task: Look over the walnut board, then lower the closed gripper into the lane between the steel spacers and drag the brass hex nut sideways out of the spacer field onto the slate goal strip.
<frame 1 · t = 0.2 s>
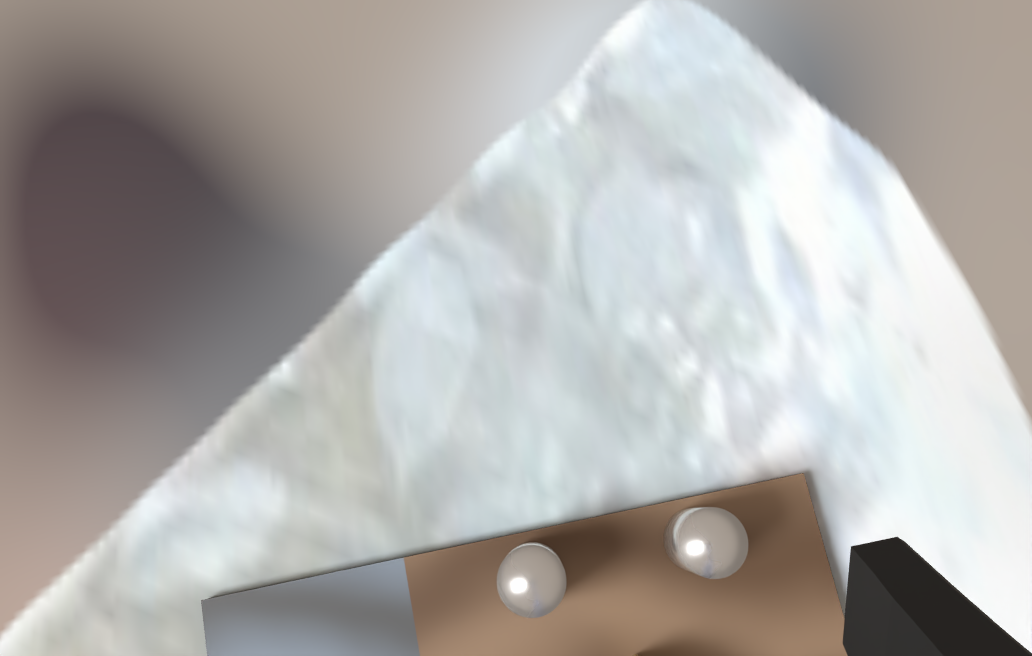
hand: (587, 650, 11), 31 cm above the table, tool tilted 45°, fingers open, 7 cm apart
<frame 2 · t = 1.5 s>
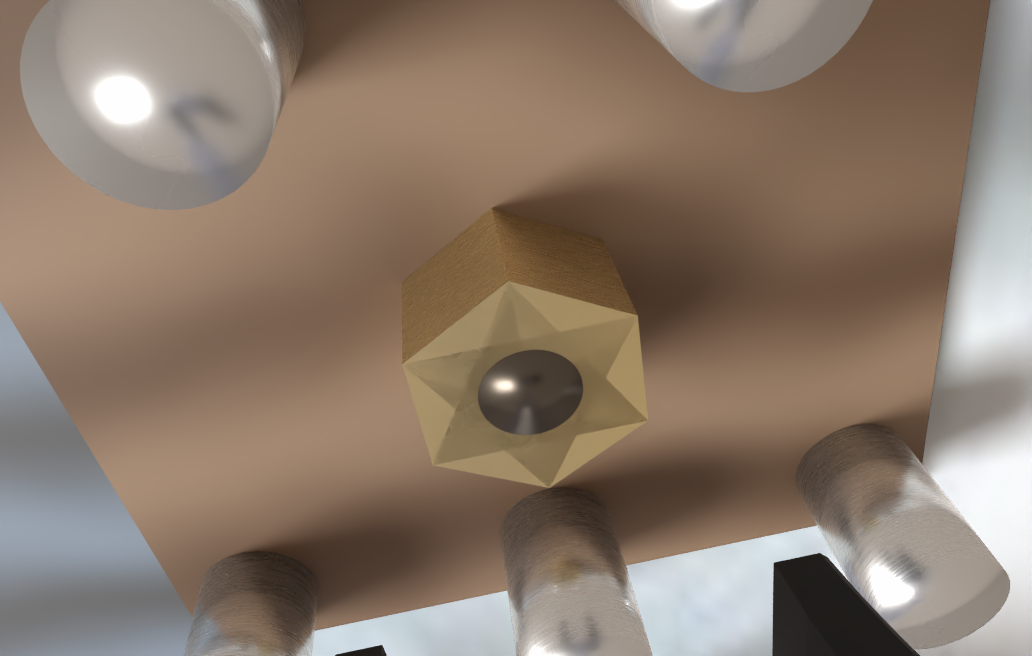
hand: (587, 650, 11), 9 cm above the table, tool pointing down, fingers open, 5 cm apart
brass nut: (512, 310, 18), point 1 cm above the table, touching spacer board
steel spacers: (508, 291, 19), resting on spacer board
spacer board: (291, 336, 19), on the table
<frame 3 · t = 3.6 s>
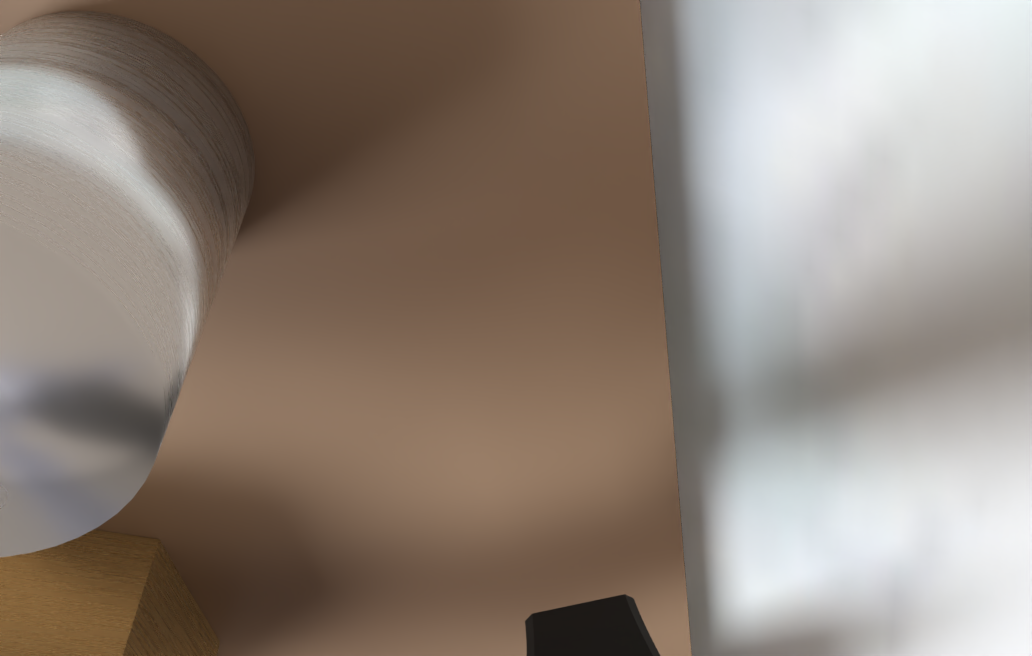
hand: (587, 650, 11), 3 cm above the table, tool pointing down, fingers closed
brass nut: (55, 622, 13), point 1 cm above the table, touching spacer board
steel spacers: (72, 581, 14), resting on spacer board
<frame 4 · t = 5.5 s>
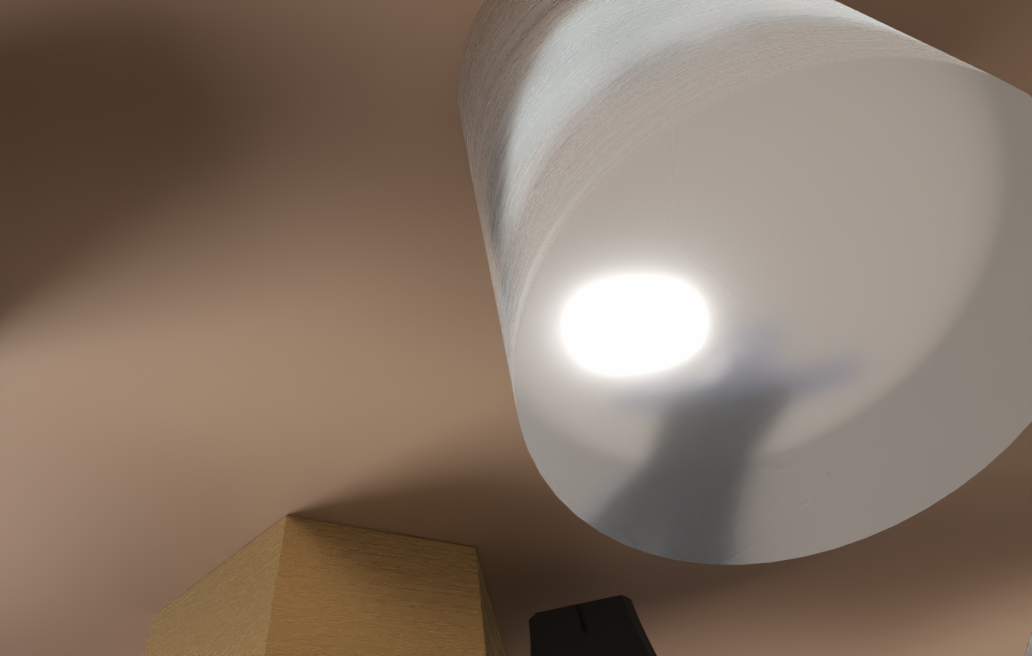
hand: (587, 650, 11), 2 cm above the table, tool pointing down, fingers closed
brass nut: (342, 637, 12), point 1 cm above the table, touching gripper, spacer board
steel spacers: (389, 583, 12), resting on spacer board
spacer board: (62, 653, 12), on the table
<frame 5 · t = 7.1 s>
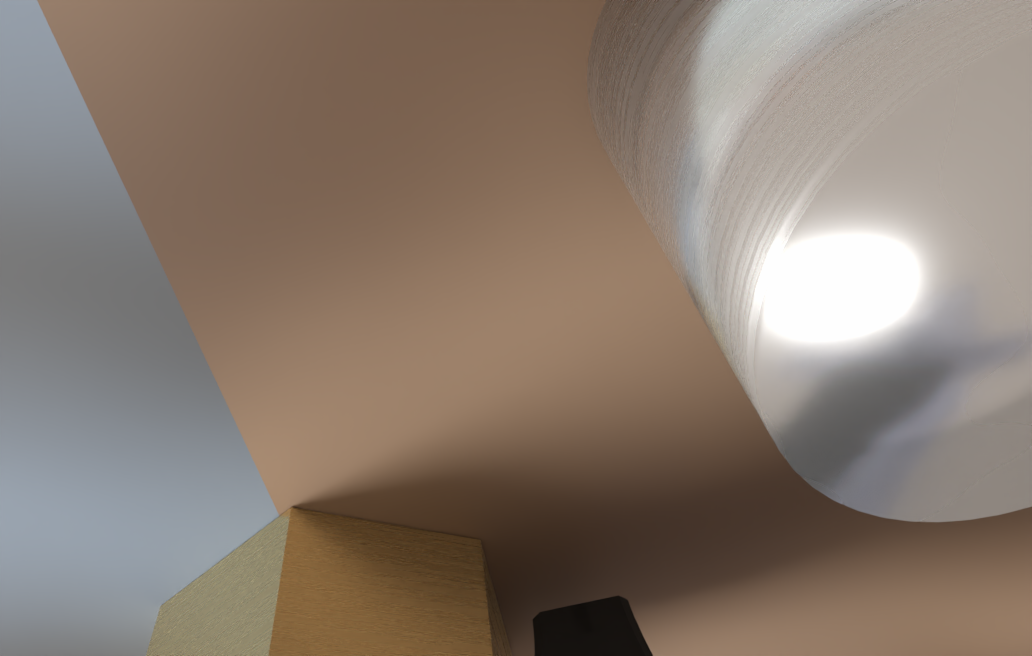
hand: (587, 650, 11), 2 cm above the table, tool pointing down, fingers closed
brass nut: (346, 630, 12), point 1 cm above the table, touching gripper
steel spacers: (988, 457, 13), resting on spacer board
spacer board: (665, 525, 12), on the table
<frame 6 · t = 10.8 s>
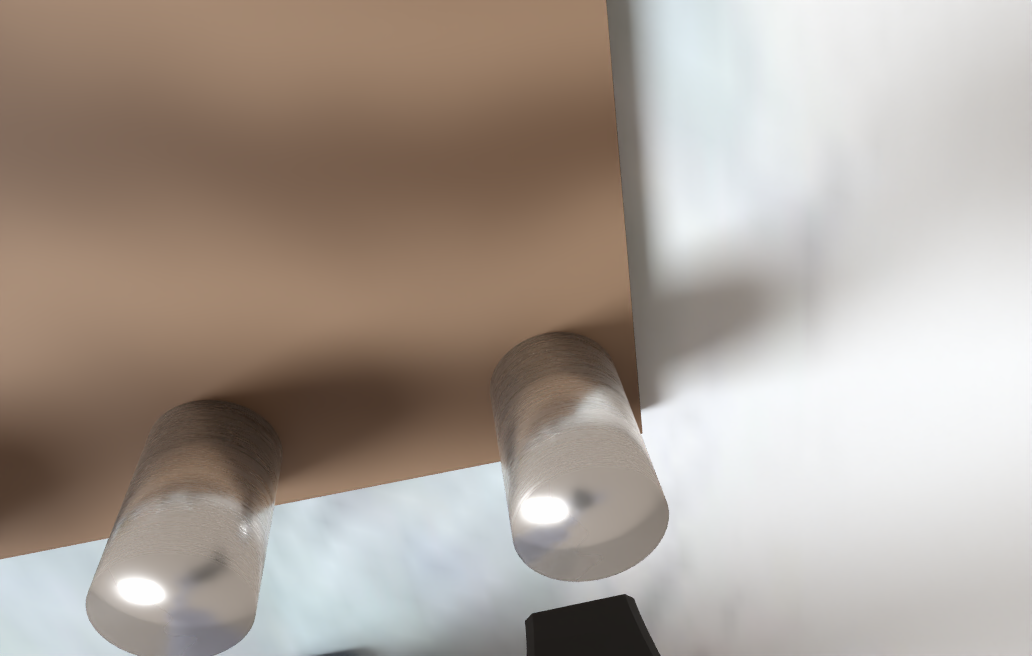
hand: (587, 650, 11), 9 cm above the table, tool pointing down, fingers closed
steel spacers: (98, 157, 16), resting on spacer board
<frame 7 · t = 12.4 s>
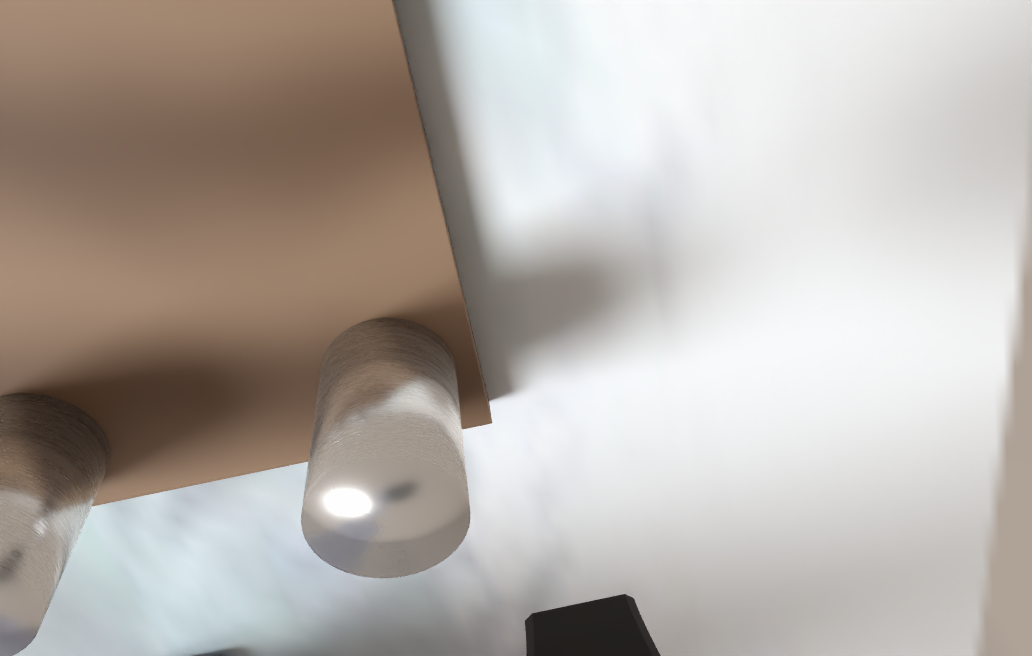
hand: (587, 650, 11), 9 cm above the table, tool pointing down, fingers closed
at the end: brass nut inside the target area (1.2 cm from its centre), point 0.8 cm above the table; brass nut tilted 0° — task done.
